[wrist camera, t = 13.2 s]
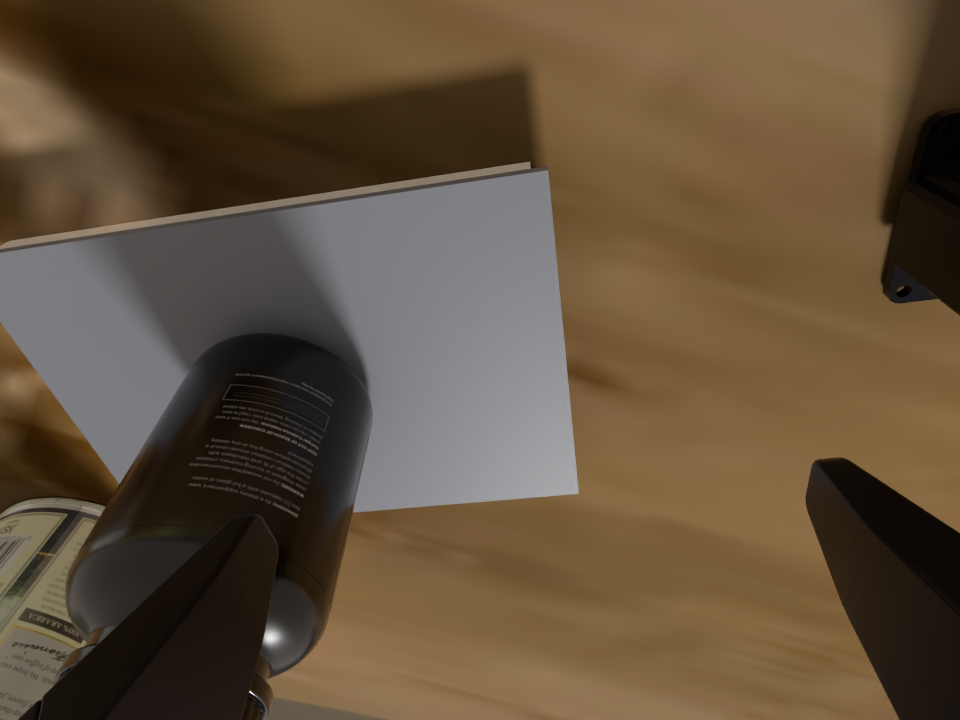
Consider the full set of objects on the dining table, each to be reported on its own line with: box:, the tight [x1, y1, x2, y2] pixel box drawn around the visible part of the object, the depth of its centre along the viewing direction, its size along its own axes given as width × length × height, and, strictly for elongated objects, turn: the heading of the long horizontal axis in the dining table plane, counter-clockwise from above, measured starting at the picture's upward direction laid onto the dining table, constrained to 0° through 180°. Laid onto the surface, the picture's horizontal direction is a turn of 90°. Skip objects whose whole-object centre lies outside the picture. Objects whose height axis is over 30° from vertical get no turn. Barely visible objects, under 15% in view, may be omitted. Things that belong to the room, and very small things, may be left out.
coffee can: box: [0, 497, 105, 720], centre depth 27 cm, size 10×10×14 cm
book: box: [0, 162, 579, 512], centre depth 23 cm, size 20×14×3 cm
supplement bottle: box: [54, 333, 373, 720], centre depth 17 cm, size 7×7×12 cm
